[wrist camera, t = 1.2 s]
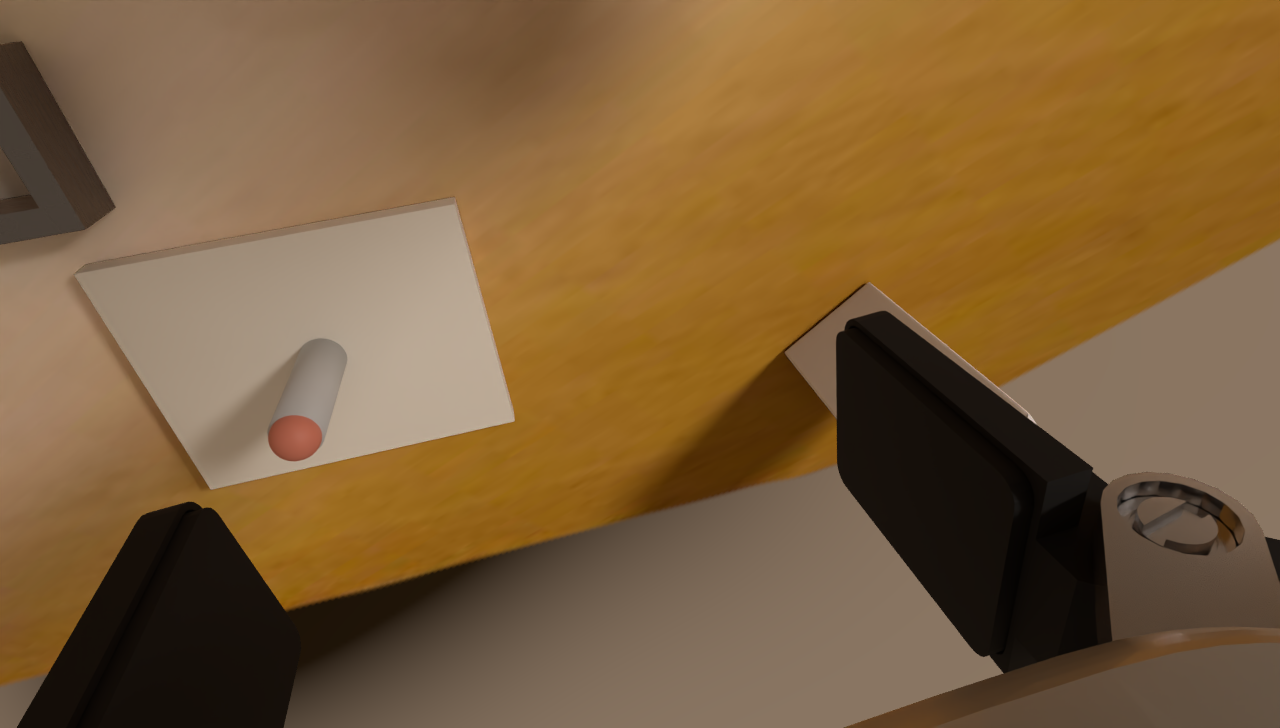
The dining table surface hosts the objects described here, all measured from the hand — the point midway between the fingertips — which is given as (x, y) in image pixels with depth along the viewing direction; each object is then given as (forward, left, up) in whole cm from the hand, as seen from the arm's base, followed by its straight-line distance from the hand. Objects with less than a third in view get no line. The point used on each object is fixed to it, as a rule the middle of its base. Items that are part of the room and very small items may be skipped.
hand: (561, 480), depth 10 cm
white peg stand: (+11, -12, -28) cm, 32 cm away
